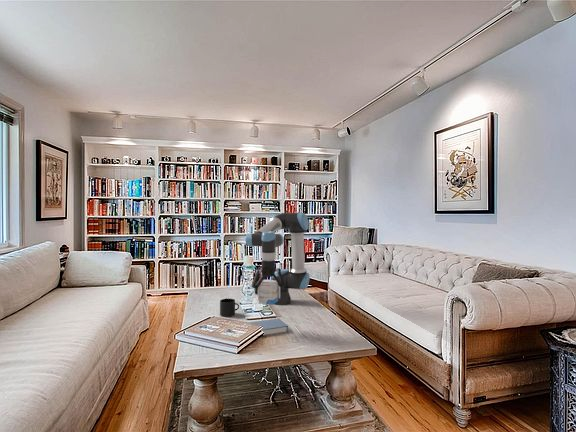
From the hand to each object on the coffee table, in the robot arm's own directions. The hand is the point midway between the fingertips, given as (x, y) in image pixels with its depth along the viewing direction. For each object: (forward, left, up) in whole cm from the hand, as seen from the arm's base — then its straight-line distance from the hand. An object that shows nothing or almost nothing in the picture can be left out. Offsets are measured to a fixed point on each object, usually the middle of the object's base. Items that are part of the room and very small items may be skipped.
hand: (268, 299), depth 177 cm
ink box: (0, 0, -2) cm, 2 cm away
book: (0, 0, -17) cm, 17 cm away
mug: (+14, -34, -17) cm, 41 cm away
